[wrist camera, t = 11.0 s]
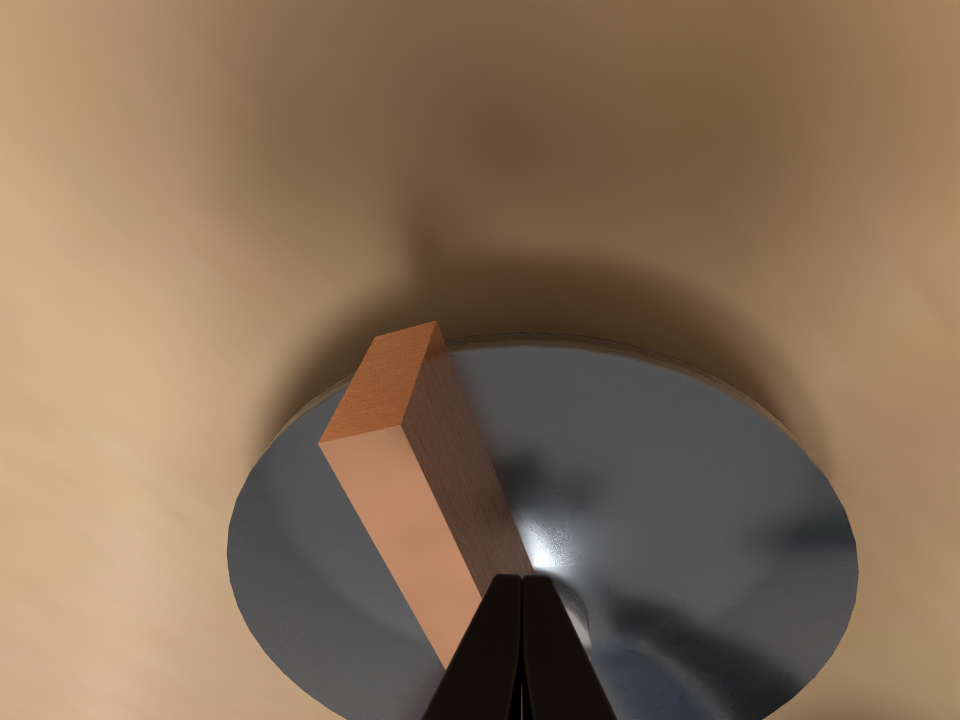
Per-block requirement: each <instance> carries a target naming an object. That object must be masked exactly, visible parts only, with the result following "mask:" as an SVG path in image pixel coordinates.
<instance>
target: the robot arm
mask: <svg viewBox="0 0 960 720" xmlns="http://www.w3.org/2000/svg"><path fill="white" fill-rule="evenodd" d="M521 718H522V720H618V719H617V717H616V715H615V713H614V711H613V709H612V706H611V704H610V702H609V700H608V698H607V696H606V694H605V692H604V689H603V687H602V685H601V683H600V681H599V679H598V677H597V675H596V672H595V670H594V668H593V666H592V664H591V662H590V660H589V658H588V655H587V653H586V651H585V649H584V647H583V645H582V643H581V641H580V638H579V636H578V634H577V632H576V630H575V628H574V626H573V624H572V621H571V619H570V617H569V615H568V613H567V611H566V609H565V607H564V604H563V602H562V600H561V598H560V596H559V594H558V592H557V590H556V587H555V585H554V583H553V581H552V580H551V578H550V577H549V576H546V575H525V576H524V577H523V580H522V578H521V576H520V575H518V574H496V575H495V576H494V577H493V579H492V580H491V582H490V584H489V586H488V588H487V590H486V592H485V594H484V596H483V598H482V600H481V602H480V604H479V606H478V608H477V610H476V612H475V614H474V616H473V618H472V620H471V622H470V624H469V626H468V628H467V630H466V632H465V633H464V635H463V637H462V639H461V641H460V643H459V645H458V647H457V649H456V651H455V653H454V655H453V657H452V659H451V661H450V663H449V665H448V667H447V669H446V671H445V673H444V675H443V677H442V679H441V681H440V683H439V685H438V687H437V689H436V691H435V692H434V694H433V696H432V698H431V700H430V702H429V704H428V706H427V708H426V710H425V712H424V714H423V716H422V718H421V720H521Z"/></svg>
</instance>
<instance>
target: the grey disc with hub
mask: <svg viewBox="0 0 960 720" xmlns="http://www.w3.org/2000/svg"><path fill="white" fill-rule="evenodd" d="M227 560H228V569H229V577H230V583H231V586H232V589H233V592H234V596H235V599H236V602H237V605H238V608H239V610H240V612H241V614H242V616H243V618H244V620H245V622H246V624H247V626H248V628H249V630H250V631H251V633H252V634H253V636H254V637H255V639H256V640H257V642H258V643H259V644H260V646H261V647H262V649H263V650H264V652H265V653H266V654H267V655H268V656H269V657H270V658H271V660H272V661H273V662H274V663H275V664H276V665H277V666H278V667H279V668H280V670H281V671H282V672H283V673H284V674H285V675H286V676H288V677H289V678H290V679H291V680H292V681H293V682H294V683H295V684H297V685H298V686H299V687H300V688H301V689H302V690H303V691H304V692H306V693H307V694H309V695H310V696H311V697H313V698H314V699H316V700H317V701H318V702H320V703H321V704H323V705H324V706H325V707H327V708H328V709H330V710H332V711H333V712H335V713H337V714H338V715H340V716H342V717H343V718H345V719H347V720H421V718H422V716H423V714H424V712H425V710H426V708H427V706H428V704H429V702H430V700H431V698H432V696H433V694H434V692H435V691H436V689H437V687H438V685H439V683H440V681H441V679H442V677H443V675H444V673H445V671H446V669H447V667H448V665H449V663H450V661H451V659H452V657H453V655H454V653H455V651H456V649H457V647H458V645H459V643H460V641H461V639H462V637H463V635H464V633H465V632H466V630H467V628H468V626H469V624H470V622H471V620H472V618H473V616H474V614H475V612H476V610H477V608H478V606H479V604H480V602H481V600H482V598H483V596H484V594H485V592H486V590H487V588H488V586H489V584H490V582H491V580H492V579H493V577H494V576H495V575H496V574H518V575H520V576H521V578H522V580H523V577H524V576H525V575H546V576H549V577H550V578H551V580H552V581H553V583H554V585H555V587H556V590H557V592H558V594H559V596H560V598H561V600H562V602H563V604H564V607H565V609H566V611H567V613H568V615H569V617H570V619H571V621H572V624H573V626H574V628H575V630H576V632H577V634H578V636H579V638H580V641H581V643H582V645H583V647H584V649H585V651H586V653H587V655H588V658H589V660H590V662H591V664H592V666H593V668H594V670H595V672H596V675H597V677H598V679H599V681H600V683H601V685H602V687H603V689H604V692H605V694H606V696H607V698H608V700H609V702H610V704H611V706H612V709H613V711H614V713H615V715H616V717H617V719H618V720H762V719H763V718H765V717H767V716H769V715H770V714H771V713H773V712H774V711H776V710H777V709H778V708H780V707H781V706H782V705H784V704H785V703H786V702H788V701H789V700H791V699H792V698H793V697H794V696H795V695H796V694H797V693H798V692H800V691H801V690H802V689H803V688H804V687H805V686H806V685H807V684H808V683H809V682H810V681H811V680H812V679H813V678H814V677H815V676H816V675H817V673H818V672H819V671H820V670H821V668H822V667H823V666H824V665H825V663H826V662H827V661H828V660H829V658H830V657H831V656H832V654H833V653H834V651H835V649H836V647H837V645H838V644H839V642H840V640H841V638H842V636H843V634H844V633H845V631H846V629H847V626H848V623H849V620H850V617H851V614H852V611H853V607H854V604H855V601H856V592H857V583H858V574H859V571H858V561H857V551H856V542H855V539H854V536H853V533H852V530H851V526H850V523H849V520H848V517H847V514H846V511H845V509H844V507H843V506H842V504H841V502H840V500H839V499H838V497H837V495H836V493H835V492H834V490H833V488H832V486H831V485H830V483H829V481H828V479H827V478H826V477H825V475H824V474H823V472H822V471H821V469H820V468H819V467H818V465H817V464H816V462H815V461H814V459H813V458H812V457H811V455H810V454H809V453H808V452H807V451H806V449H805V448H804V447H803V446H802V445H801V443H800V442H799V441H798V440H797V439H796V438H795V436H794V435H793V434H792V433H791V432H790V430H789V429H788V428H787V427H786V426H785V425H784V424H783V423H781V422H780V421H779V420H778V419H777V418H776V417H774V416H773V415H772V414H771V413H770V412H768V411H767V410H766V409H765V408H764V407H762V406H761V405H760V404H759V403H758V402H757V401H755V400H754V399H752V398H751V397H749V396H748V395H746V394H744V393H743V392H741V391H739V390H738V389H736V388H735V387H733V386H731V385H730V384H728V383H726V382H725V381H723V380H722V379H720V378H718V377H717V376H714V375H712V374H710V373H708V372H705V371H703V370H701V369H699V368H696V367H694V366H692V365H689V364H687V363H685V362H683V361H680V360H678V359H676V358H674V357H670V356H667V355H663V354H660V353H657V352H653V351H650V350H647V349H643V348H640V347H636V346H633V345H630V344H626V343H621V342H615V341H609V340H603V339H597V338H591V337H585V336H579V335H567V334H547V333H527V332H523V333H508V334H493V335H479V336H471V337H465V338H460V339H455V340H449V341H444V339H443V336H442V334H441V331H440V329H439V326H438V323H437V321H433V322H429V323H425V324H421V325H418V326H414V327H410V328H406V329H402V330H399V331H395V332H391V333H387V334H383V335H380V336H376V337H375V338H374V340H373V342H372V344H371V345H370V347H369V349H368V351H367V353H366V355H365V357H364V359H363V360H362V362H361V364H360V366H359V368H358V370H357V372H354V373H352V374H350V375H348V376H346V377H344V378H343V379H341V380H340V381H338V382H337V383H335V384H334V385H332V386H331V387H329V388H328V389H326V390H325V391H323V392H322V393H320V394H319V395H317V396H316V397H314V398H313V399H311V400H310V401H309V402H308V403H307V404H306V405H305V406H304V407H303V408H302V409H300V410H299V411H298V412H297V413H296V414H295V415H294V416H293V417H292V418H291V419H290V420H288V421H287V422H286V423H285V424H284V426H283V427H282V428H281V430H280V431H279V432H278V434H277V435H276V436H275V437H274V439H273V440H272V441H271V443H270V444H269V445H268V447H267V448H266V449H265V451H264V452H263V454H262V455H261V457H260V458H259V460H258V461H257V463H256V464H255V466H254V467H253V469H252V470H251V472H250V474H249V476H248V478H247V480H246V482H245V484H244V486H243V488H242V490H241V491H240V493H239V495H238V497H237V499H236V503H235V507H234V510H233V514H232V517H231V521H230V525H229V531H228V545H227ZM521 720H522V718H521Z"/></svg>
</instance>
